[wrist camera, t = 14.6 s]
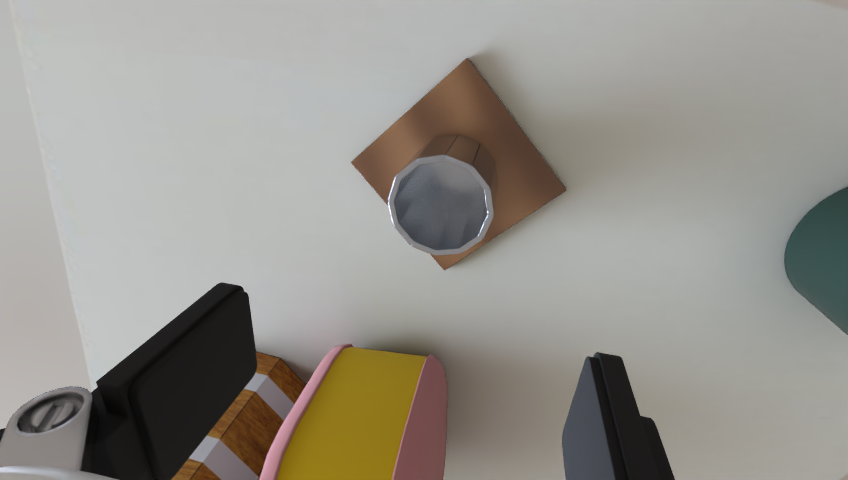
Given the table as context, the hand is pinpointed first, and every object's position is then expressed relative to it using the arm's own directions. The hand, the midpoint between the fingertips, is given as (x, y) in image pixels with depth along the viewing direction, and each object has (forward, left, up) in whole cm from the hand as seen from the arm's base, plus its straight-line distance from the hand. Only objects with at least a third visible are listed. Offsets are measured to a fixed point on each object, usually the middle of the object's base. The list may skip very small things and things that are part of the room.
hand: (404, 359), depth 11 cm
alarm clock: (+22, +15, -24) cm, 36 cm away
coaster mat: (+2, 0, -24) cm, 24 cm away
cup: (+2, 0, -23) cm, 23 cm away
